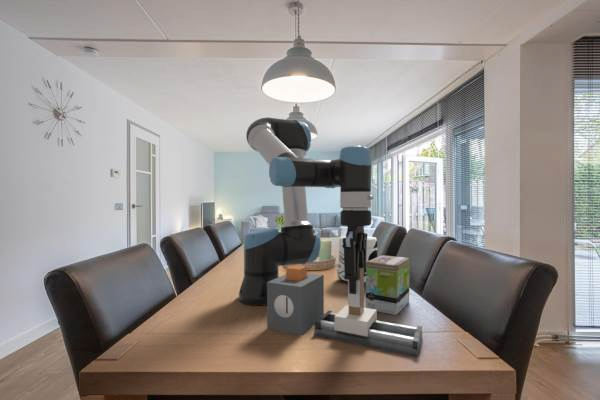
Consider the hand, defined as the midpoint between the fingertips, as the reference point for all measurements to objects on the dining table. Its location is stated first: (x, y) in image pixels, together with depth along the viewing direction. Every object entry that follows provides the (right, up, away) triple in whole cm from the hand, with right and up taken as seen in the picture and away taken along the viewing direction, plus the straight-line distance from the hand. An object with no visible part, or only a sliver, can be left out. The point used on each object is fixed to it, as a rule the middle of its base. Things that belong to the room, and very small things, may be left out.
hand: (356, 303), depth 77 cm
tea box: (+14, -8, +21) cm, 26 cm away
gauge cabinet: (-15, -8, +8) cm, 18 cm away
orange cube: (-15, +3, +8) cm, 17 cm away
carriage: (0, -6, 0) cm, 6 cm away
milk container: (+10, -8, +50) cm, 52 cm away
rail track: (+2, -8, -1) cm, 8 cm away
